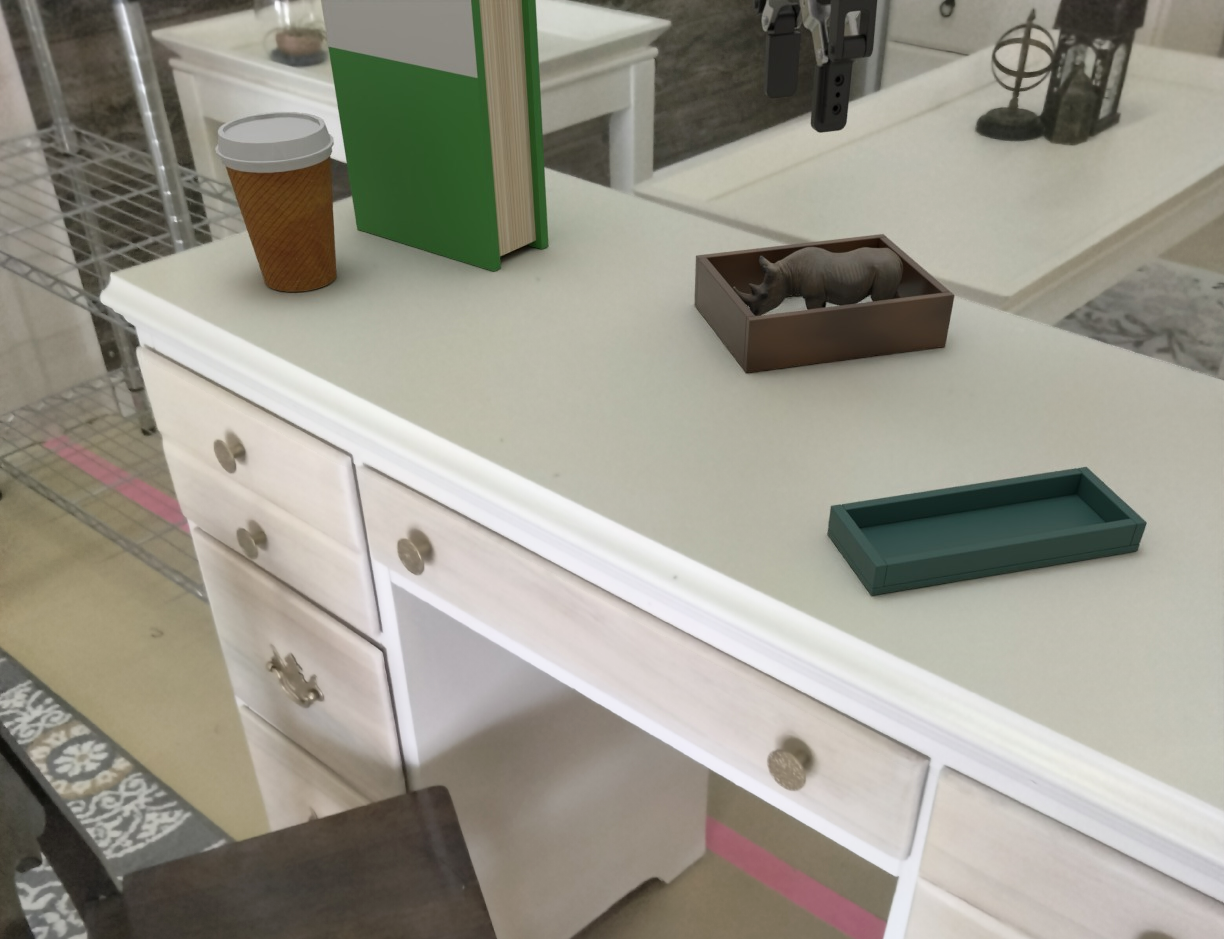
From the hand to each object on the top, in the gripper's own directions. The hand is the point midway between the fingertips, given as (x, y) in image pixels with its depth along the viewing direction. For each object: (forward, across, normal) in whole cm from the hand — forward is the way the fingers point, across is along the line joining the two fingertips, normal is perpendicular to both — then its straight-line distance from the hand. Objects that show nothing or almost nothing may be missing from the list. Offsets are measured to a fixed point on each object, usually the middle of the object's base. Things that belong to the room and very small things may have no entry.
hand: (802, 112), depth 80 cm
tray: (+17, -27, -2) cm, 32 cm away
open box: (+17, +6, -5) cm, 19 cm away
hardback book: (+17, +34, +20) cm, 43 cm away
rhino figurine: (+17, +6, -5) cm, 19 cm away
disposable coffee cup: (+17, +29, +34) cm, 48 cm away
